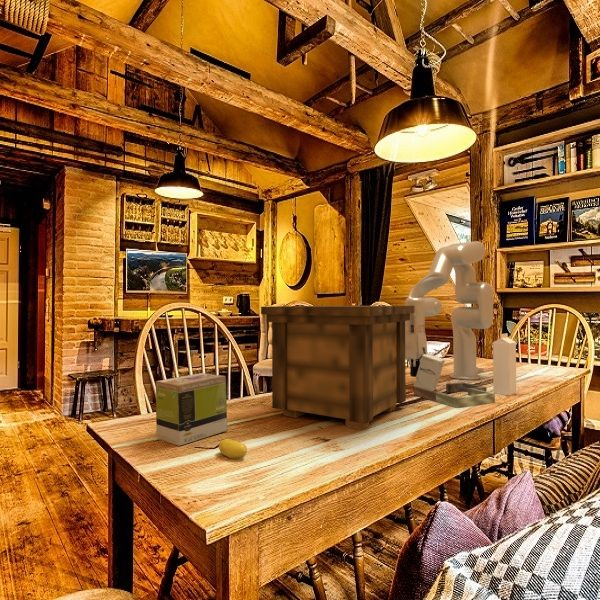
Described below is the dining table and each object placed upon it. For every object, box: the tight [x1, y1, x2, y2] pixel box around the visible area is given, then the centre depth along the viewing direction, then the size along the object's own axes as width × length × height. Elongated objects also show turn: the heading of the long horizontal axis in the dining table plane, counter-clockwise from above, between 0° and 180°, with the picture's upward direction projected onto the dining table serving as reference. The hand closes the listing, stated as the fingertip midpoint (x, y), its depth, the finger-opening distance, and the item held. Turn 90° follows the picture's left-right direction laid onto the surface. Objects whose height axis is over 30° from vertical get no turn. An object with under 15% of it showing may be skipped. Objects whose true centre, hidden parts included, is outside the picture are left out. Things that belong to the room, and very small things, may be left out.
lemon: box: [218, 438, 248, 460], centre depth 92 cm, size 4×8×4 cm, turn 47°
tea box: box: [155, 372, 228, 447], centre depth 107 cm, size 15×10×15 cm
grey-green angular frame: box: [413, 381, 496, 409], centre depth 148 cm, size 23×20×3 cm
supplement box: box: [413, 353, 446, 391], centre depth 159 cm, size 7×7×13 cm
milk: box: [492, 332, 517, 396], centre depth 155 cm, size 6×6×22 cm
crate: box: [260, 305, 415, 430], centre depth 130 cm, size 35×35×33 cm
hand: (414, 376), depth 164 cm, fingers closed
